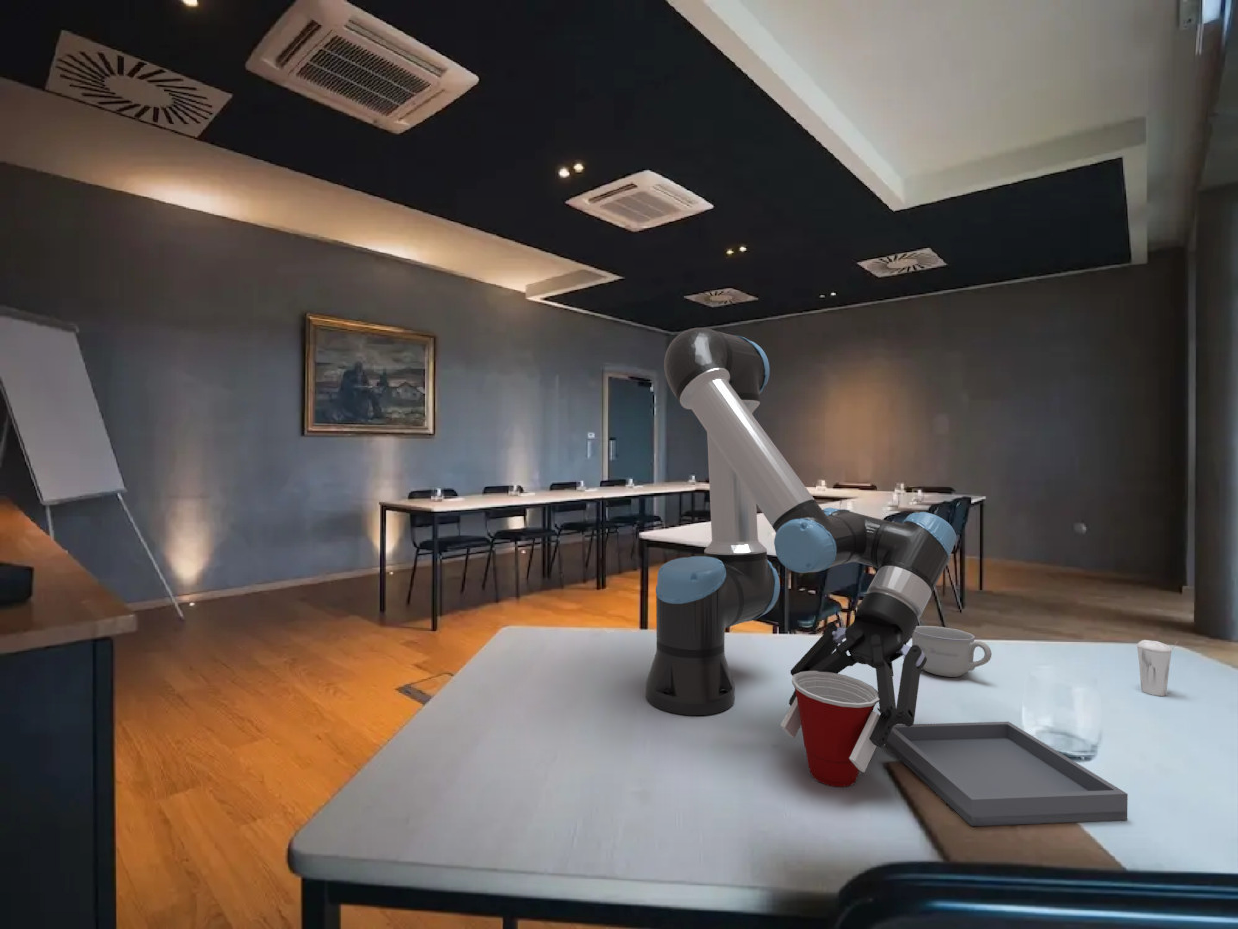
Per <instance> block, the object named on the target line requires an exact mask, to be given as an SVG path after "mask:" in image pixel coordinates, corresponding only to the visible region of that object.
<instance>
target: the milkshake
mask: <svg viewBox="0 0 1238 929" xmlns="http://www.w3.org/2000/svg"><path fill="white" fill-rule="evenodd" d="M1178 642H1179V640H1177V641H1176V642H1175V644H1174V645H1173V647H1172V648H1171V647H1170V646H1169V644H1166V643H1163V642H1160V641H1157V640H1150V639H1149V640H1148V639H1142V640H1140V641H1139V642H1138V643H1137V644H1136V647H1137V655H1138V665H1139V666H1138V668H1139V677H1140V679H1139V680H1140V689H1141V691H1142V692H1143V693H1145V694H1148V695H1151V696H1156V697H1157V696H1158V697H1165V696H1167V694H1168V693H1167V692H1168V683H1169V682H1168V681H1169V672H1170V664H1171V660H1172V659H1171V658H1172V650H1173V649H1174V648H1175V646H1176V645H1177V643H1178Z"/></svg>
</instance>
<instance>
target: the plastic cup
mask: <svg viewBox="0 0 1238 929" xmlns="http://www.w3.org/2000/svg"><path fill="white" fill-rule="evenodd" d="M791 683H792V685H793V687H794V691H796V696H797V703H798V706H799V712H800V719H801V731H802V738H803V744H804V749H805V754H806V760H807V766H808V769H809V774H810V775H811V776H812V778H813V779H815V780H816V781H817V782H819V783H822V784H824V785H827V786H831V787H836V788H837V787H838V788H839V787H842V788H843V787H844V788H845V787H849V786H853V785H854V784H855V783H856V781H857V778H858V777H859V776H858V775H859V771H860V770H858V768H857V767H856V766H855V765H854V764H853V763H852V761H851V760H850V759H849V758H850V756H851V754H852V751H853V749H854V747H855V745H856V743H857V741H858V739H859V737H860V735H861V733H862V731H863V729H864V727H865V725H866V723H867V720H868V718H869V716H870V714H871V712H872V711H873V712H874V708H875V706H876V705H877V703H878V704H879V700H880V699H879V697H878V689H876V688H875V687H874V686H872V685H870V684H868V683H867V682H864V681H862V680H861V679H857V678H854V677H851V676H848V675H845V674H841V673H838V674H836V673H832V672H818V671H804V672H799V673H797V674H795V675H793V676H792V679H791Z"/></svg>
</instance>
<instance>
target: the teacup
mask: <svg viewBox="0 0 1238 929" xmlns="http://www.w3.org/2000/svg"><path fill="white" fill-rule="evenodd" d="M975 639H976V637H975V635H974V634H972V633H970V632H966V631H965V630H960V629H957V628H950V627H943V626H935V625H917V626H916V628H915V630H914V632H913V634H912V636H911V640H912V642H911V646H913V645H918V646H919V647H920V649H921V650H922V652H923V653H924V655H925V656H926V658H927V661H926V663H925V665H924V666H923V668H922V670H923V671H925V672H927V673H928V674H929V673H930V674H933V675H936V676H942V677H949V678H956V677H957V678H958V677H961V676H963V675H964V674H965V673H967V672H969V671H971V672H972V671H974V670H975V668H977V667H980V666H983V665H985V664H987V663H989V661H991V658H992V650H991V647H990V646H989V645H988V644H987V643H986V642H983V641H980V640H976V641H975ZM977 647H979V648H981V649H982V651H983V653H984V656H983V657H982V658H981V659H979V660H977V661H975V660H974V657H975V656H974V655H975V654H974V652H975V649H976V648H977Z"/></svg>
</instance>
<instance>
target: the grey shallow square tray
mask: <svg viewBox="0 0 1238 929" xmlns="http://www.w3.org/2000/svg"><path fill="white" fill-rule="evenodd" d="M884 746H885V747H886V748H887V749H888V750H889V751H890V752H891V753H892V754H893V755H894V756H896V757H897V759H899V761H901V763H903V764H904V765H905V766H906V767H907V768H909V770H910V771H911V772H913V774H915V775H916V776H917V777H918V778H919V779H920V780H921V781H923V783H925V785H927V786H928V787H929V788H930V789H931V790H932V791H933V792H934V793H935V794H936V795H938V797H939V798H941V799H942V800H943V801H944V802H945V803H946V804H947V805H948V806H949V807H950V808H951V809H952V810H953V811H954V812H956V814H958V815H959V816H960V817H961V818H962V819H963V820H964V821H965V822H967V823H968V825H969V826H971V827H988V826H1011V825H1012V826H1014V825H1037V824H1060V823H1062V824H1063V823H1081V822H1082V823H1087V822H1089V823H1090V822H1111V821H1128V801H1129V800H1128V797H1129V796H1128V793H1127V792H1125V791H1123V790H1122V789H1120V788H1119V787H1118V786H1116V785H1114V784H1112V783H1111V782H1110V781H1107V780H1106V779H1104V778H1102V777H1100V776H1099V775H1098V774H1095V773H1094V772H1092V771H1091V770H1089V769H1087V768H1086V767H1084V766H1083V765H1080V764H1079V763H1077V761H1074V760H1072V759H1071V758H1069V757H1067V756H1066V755H1064V754H1063V753H1061V752H1060V751H1057V750H1056V749H1054V748H1053V747H1051V746H1050V745H1048V744H1046V743H1044V741H1043V742H1042V741H1041V740H1039V739H1038V738H1036V737H1035V736H1034V735H1032V734H1029V733H1028V732H1026V731H1025V730H1023V729H1022V728H1019V727H1018V726H1017V725H1015V724H1013V723H1012V722H1010V721H982V722H981V721H979V722H976V721H975V722H946V723H945V722H944V723H943V722H941V723H938V722H937V723H913V725H912V726H910V727H908V726H905V725H904V724H896V725H894V726H893V728H892V730H891V732H890V734H889V736H888V738H887V740H886V743H885V745H884Z"/></svg>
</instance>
